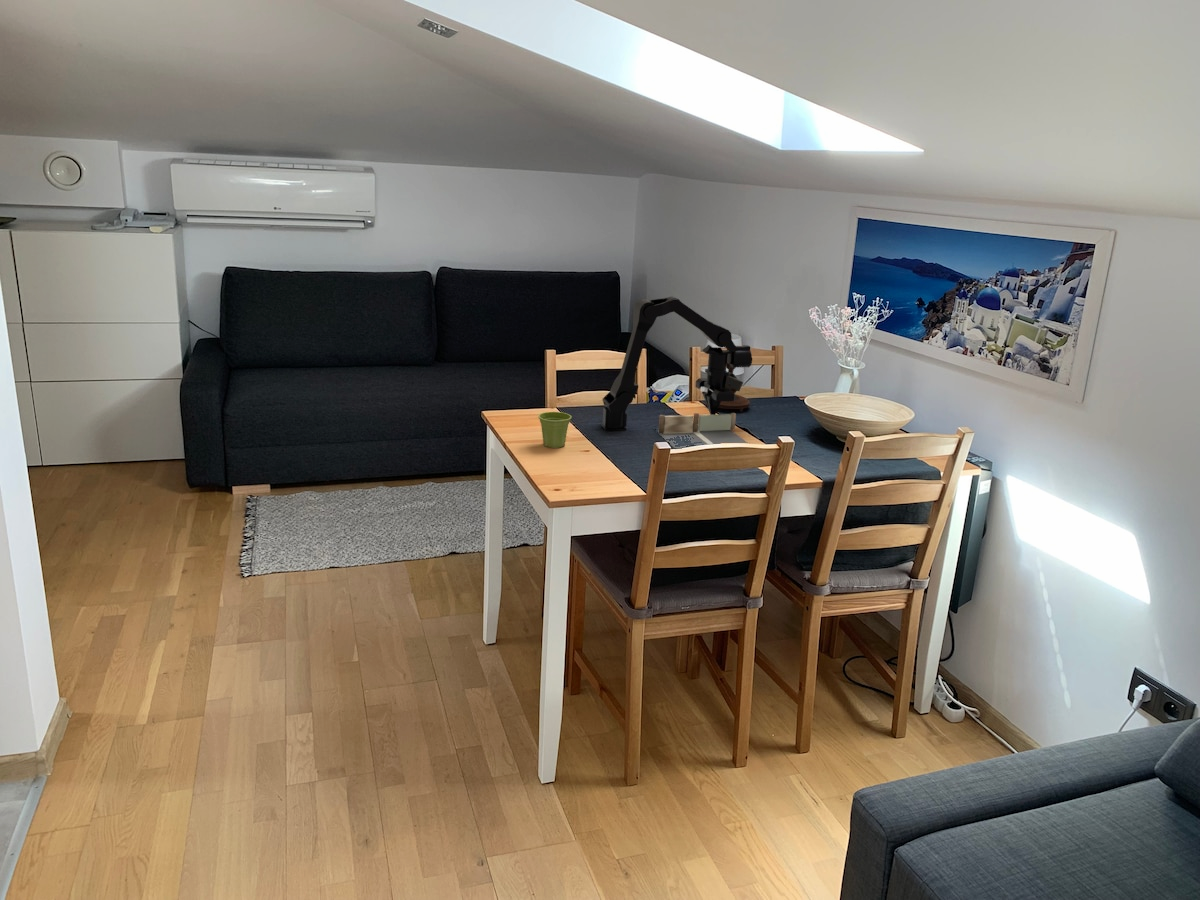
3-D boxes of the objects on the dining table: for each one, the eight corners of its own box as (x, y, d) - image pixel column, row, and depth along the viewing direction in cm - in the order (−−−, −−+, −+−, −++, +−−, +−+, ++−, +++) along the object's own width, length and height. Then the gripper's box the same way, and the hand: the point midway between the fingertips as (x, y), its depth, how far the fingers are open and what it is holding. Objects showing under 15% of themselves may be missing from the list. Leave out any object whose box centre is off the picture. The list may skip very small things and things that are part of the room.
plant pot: (541, 451, 259) (542, 421, 256) (534, 440, 267) (535, 411, 265) (573, 449, 262) (575, 420, 259) (565, 439, 270) (566, 411, 267)
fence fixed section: (659, 433, 280) (660, 415, 278) (657, 432, 282) (658, 414, 280) (698, 432, 283) (699, 414, 282) (696, 430, 285) (697, 413, 283)
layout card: (675, 449, 267) (675, 448, 267) (652, 428, 286) (652, 427, 286) (751, 446, 273) (751, 445, 273) (724, 426, 292) (724, 425, 292)
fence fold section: (699, 431, 283) (701, 415, 282) (697, 429, 285) (699, 413, 283) (735, 429, 286) (736, 414, 285) (733, 428, 288) (734, 412, 286)
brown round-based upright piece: (706, 400, 322) (711, 343, 316) (749, 404, 320) (755, 347, 314) (704, 411, 309) (709, 351, 302) (749, 415, 307) (755, 355, 300)
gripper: (753, 374, 279) (748, 423, 284) (729, 360, 297) (725, 407, 301) (719, 374, 276) (714, 424, 281) (696, 360, 294) (692, 408, 298)
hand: (712, 416), depth 291 cm, fingers closed
